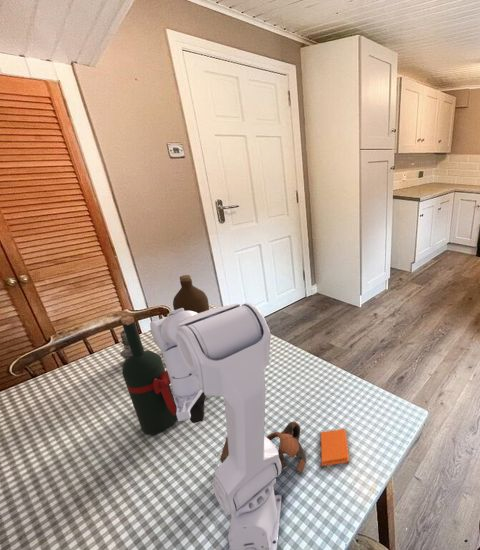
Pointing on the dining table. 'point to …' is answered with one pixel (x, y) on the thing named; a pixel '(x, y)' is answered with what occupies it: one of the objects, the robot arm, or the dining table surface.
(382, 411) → the dining table surface
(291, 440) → the brown toy figure
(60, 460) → the dining table surface
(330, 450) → the orange flat block
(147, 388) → the wine bottle
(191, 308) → the olive oil
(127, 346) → the salt shaker
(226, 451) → the walnut block
